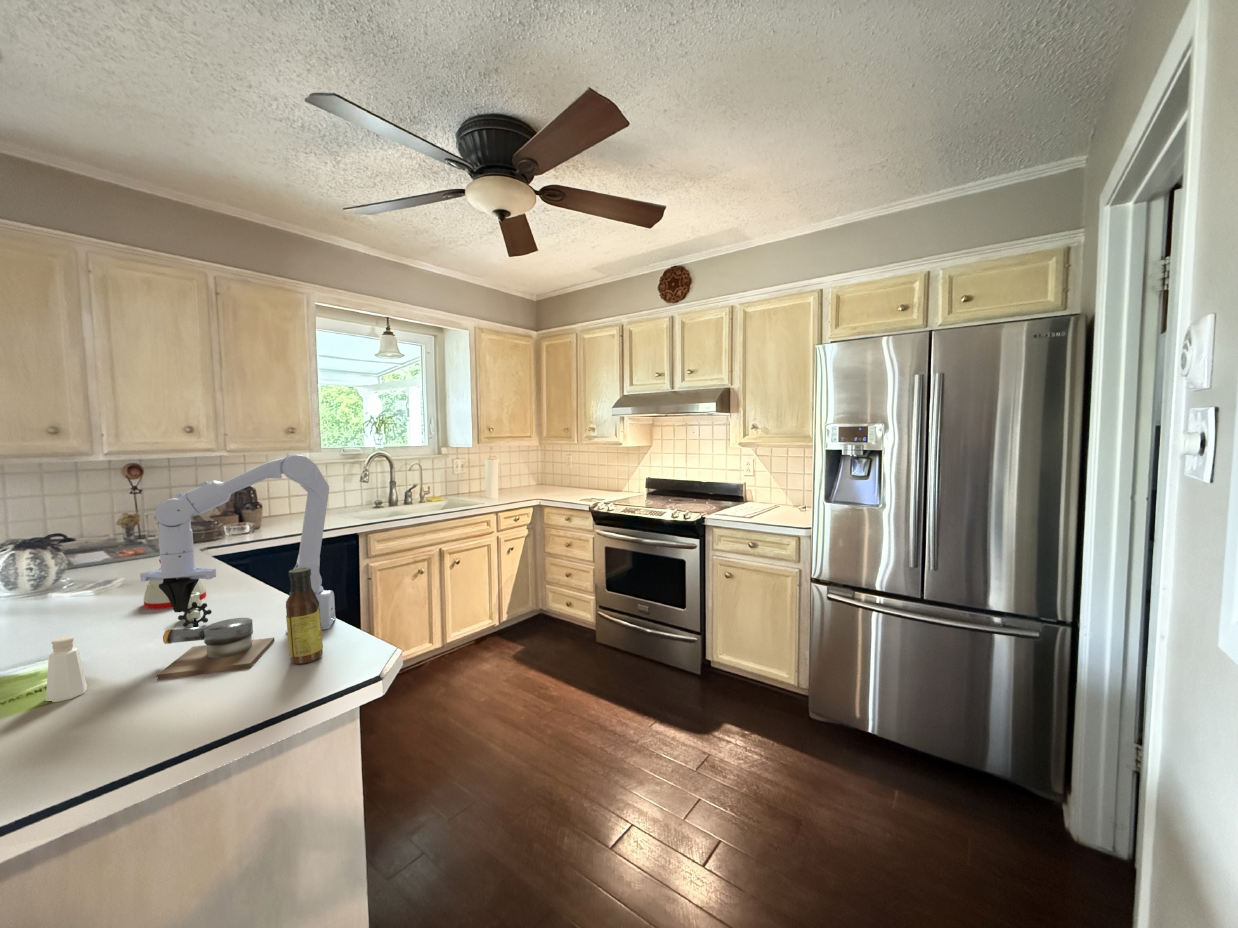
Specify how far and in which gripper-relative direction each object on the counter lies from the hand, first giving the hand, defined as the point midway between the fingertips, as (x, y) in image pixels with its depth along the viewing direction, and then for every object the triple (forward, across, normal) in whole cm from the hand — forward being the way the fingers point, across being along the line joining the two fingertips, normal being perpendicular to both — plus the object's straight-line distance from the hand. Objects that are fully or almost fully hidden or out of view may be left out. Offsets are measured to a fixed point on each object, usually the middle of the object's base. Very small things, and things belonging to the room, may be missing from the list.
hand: (181, 610), depth 113 cm
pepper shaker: (+10, +7, +18) cm, 22 cm away
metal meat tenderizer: (+5, -8, +4) cm, 11 cm away
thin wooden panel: (+9, -11, +5) cm, 16 cm away
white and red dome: (+10, +30, -38) cm, 49 cm away
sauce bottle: (+10, -30, +7) cm, 33 cm away
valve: (+10, +12, -20) cm, 25 cm away
